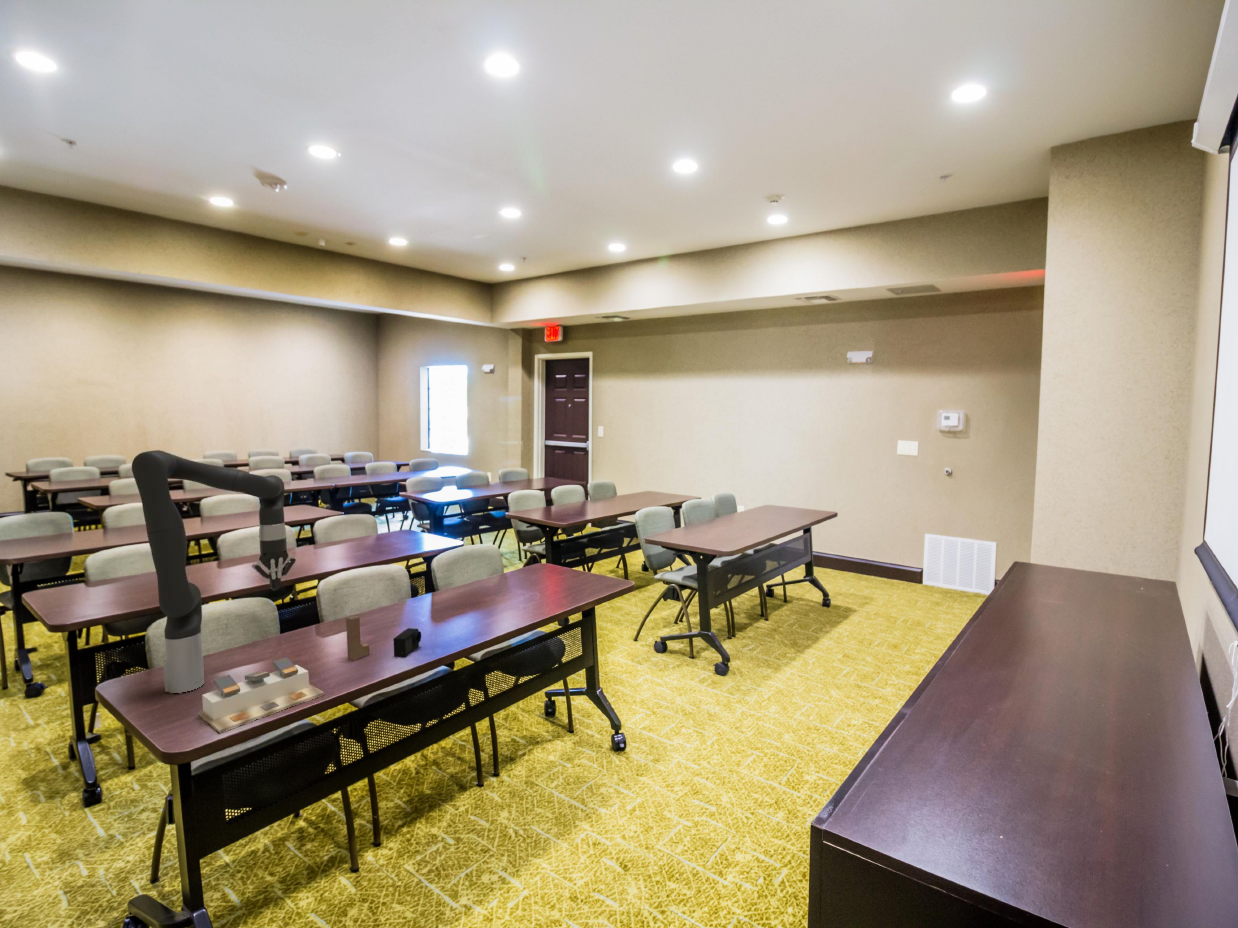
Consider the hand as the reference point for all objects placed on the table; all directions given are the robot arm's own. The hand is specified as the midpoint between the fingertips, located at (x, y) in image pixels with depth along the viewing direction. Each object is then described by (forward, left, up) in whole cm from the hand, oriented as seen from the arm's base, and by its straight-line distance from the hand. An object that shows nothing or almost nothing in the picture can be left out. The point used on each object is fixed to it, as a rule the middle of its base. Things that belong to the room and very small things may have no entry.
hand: (275, 589), depth 195 cm
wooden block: (+20, +14, -29) cm, 38 cm away
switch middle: (+3, -19, -21) cm, 28 cm away
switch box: (+3, -18, -28) cm, 34 cm away
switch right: (+8, -12, -21) cm, 26 cm away
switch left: (-2, -25, -21) cm, 32 cm away
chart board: (+6, -21, -29) cm, 36 cm away
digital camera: (+36, +18, -29) cm, 50 cm away
